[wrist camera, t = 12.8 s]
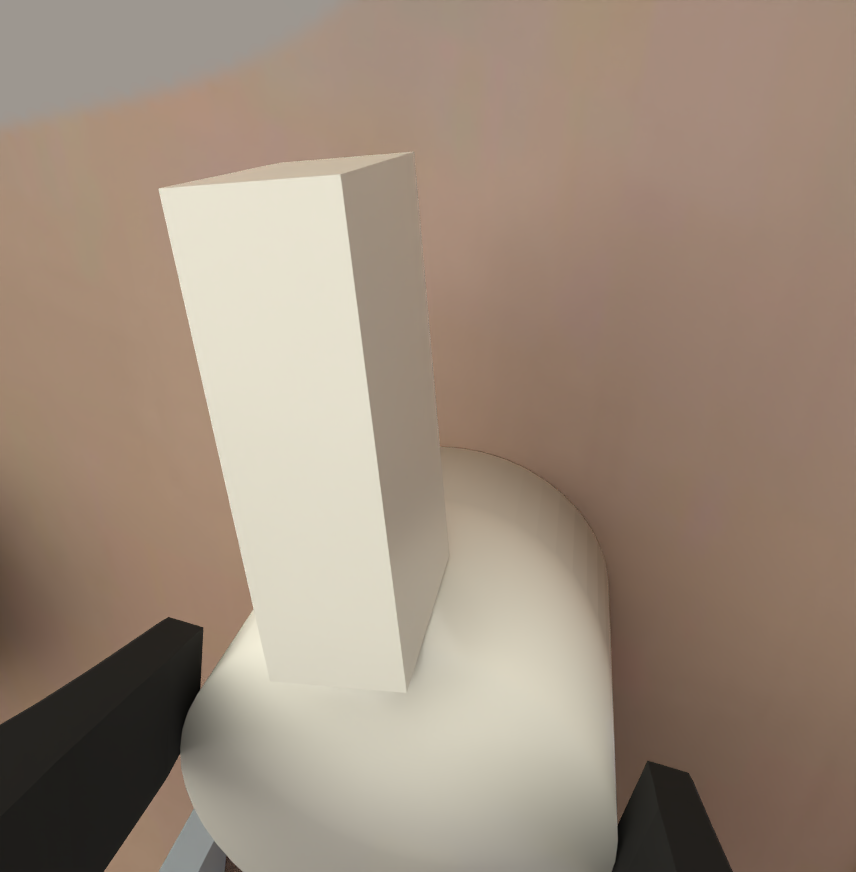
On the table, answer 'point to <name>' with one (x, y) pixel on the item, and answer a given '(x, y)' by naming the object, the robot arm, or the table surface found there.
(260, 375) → the cream egg with arms
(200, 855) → the holder
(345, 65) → the table surface
